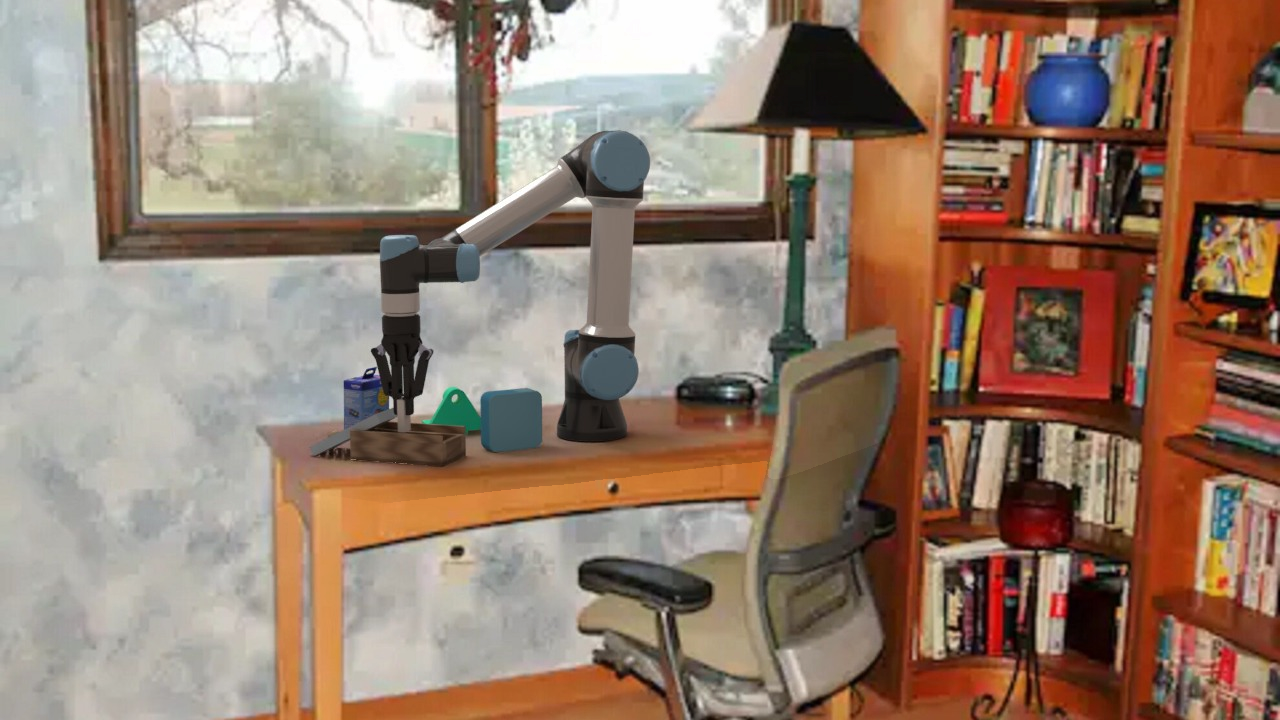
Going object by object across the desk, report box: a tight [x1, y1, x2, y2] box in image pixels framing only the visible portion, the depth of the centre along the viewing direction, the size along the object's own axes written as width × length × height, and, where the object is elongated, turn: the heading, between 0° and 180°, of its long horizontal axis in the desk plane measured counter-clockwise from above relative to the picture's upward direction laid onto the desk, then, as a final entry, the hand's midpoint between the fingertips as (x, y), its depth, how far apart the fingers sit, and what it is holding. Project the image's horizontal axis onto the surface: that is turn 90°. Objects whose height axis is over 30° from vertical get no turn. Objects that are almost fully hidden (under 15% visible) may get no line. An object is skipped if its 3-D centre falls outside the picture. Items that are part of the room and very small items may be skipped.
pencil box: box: [349, 420, 467, 468], centre depth 307 cm, size 20×11×6 cm, turn 72°
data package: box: [479, 387, 543, 454], centre depth 316 cm, size 12×4×12 cm, turn 121°
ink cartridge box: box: [343, 366, 390, 430], centre depth 331 cm, size 10×6×14 cm, turn 152°
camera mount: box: [421, 386, 481, 435], centre depth 333 cm, size 12×8×10 cm, turn 112°
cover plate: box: [308, 407, 397, 457], centre depth 310 cm, size 17×9×3 cm, turn 72°
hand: (404, 430), depth 307 cm, fingers closed
